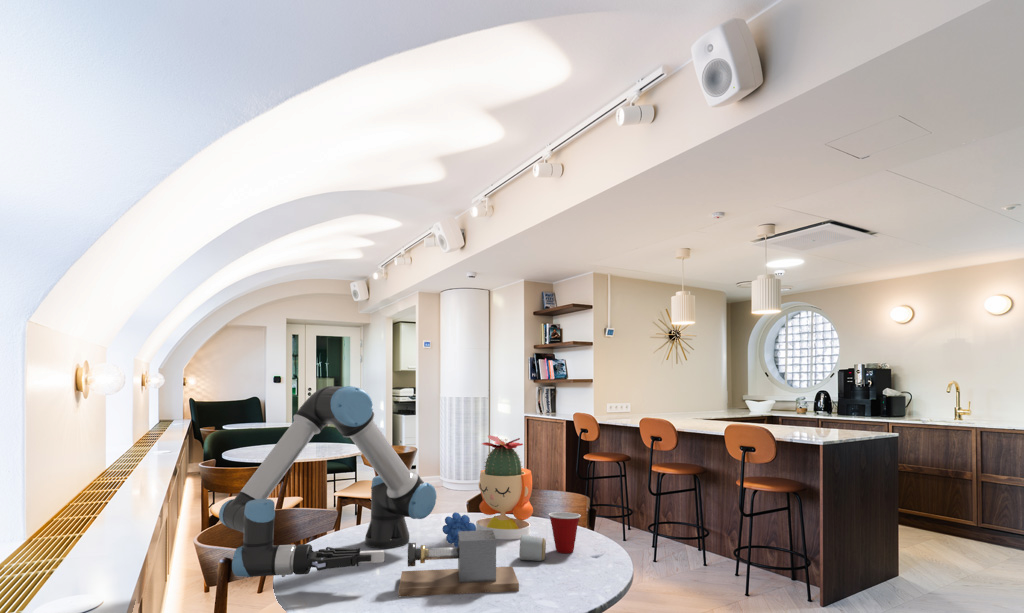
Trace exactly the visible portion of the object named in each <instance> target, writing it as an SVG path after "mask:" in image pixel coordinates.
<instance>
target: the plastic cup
mask: <svg viewBox="0 0 1024 613" xmlns="http://www.w3.org/2000/svg"><path fill="white" fill-rule="evenodd" d="M581 516H582V515H581V514H579V513H576V512H575V513H574V512H567V511H566V512H564V511H561V512H560V511H557V512H555V511H553V512H549V513H548V517H549V519H550V524H551V529H552V536H553V541H554V546H555V551H556V552H557V553H560V554H572V553H574V549H575V544H576V538H577V531H578V525H579V521H580V518H581Z"/></svg>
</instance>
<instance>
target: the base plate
mask: <svg viewBox="0 0 1024 613" xmlns="http://www.w3.org/2000/svg"><path fill="white" fill-rule="evenodd" d="M399 581H400V582H399V586H398V597H399V598H400V597H419V596H420V597H421V596H422V597H423V596H438V595H439V596H440V595H442V596H444V595H445V596H446V595H460V594H461V595H462V594H482V593H483V594H484V593H502V592H503V593H504V592H519V591H520V583H519V580H518V577H517V574H516V572H515V569H514V568H513V566H496V582H477V583H459V576H458V568H448V569H446V568H445V569H442V568H441V569H425V570H424V569H423V570H418V569H417V570H402V571H401V574H400V580H399Z"/></svg>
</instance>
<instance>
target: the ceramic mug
mask: <svg viewBox="0 0 1024 613" xmlns="http://www.w3.org/2000/svg"><path fill="white" fill-rule="evenodd" d="M546 546H547V541H546V539H545V538H544V537H541V536H536V535H535V536H534V535H530V536H528V535H522V536H521V539H520V542H519V560H520V561H535V562H541V561H544V560H545V557H546V549H547V548H546Z"/></svg>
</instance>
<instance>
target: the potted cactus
mask: <svg viewBox="0 0 1024 613" xmlns="http://www.w3.org/2000/svg"><path fill="white" fill-rule="evenodd" d="M487 438H488V439H489V440H490V441H493V442H494V443H490V442H487V441H486V442H482V443H481V445H483V446H488V447H492V448H491V450H489V451H488V453H487V457H485V461H484V464H485V465H483V468H484V469H483V470H480V474H479V475H480V476H479V481H478V489H479V491H480V495H481V497H482V501H481V502H480V503H479V506H478V507H479V511H480V512H481V513H482V514H484V515H485V516H492V515H495V516H493V517H484V518H479V519H478V520H476V523H475V526H476V531H483V530H493V532H494V535H495V538H496V540H519V539H520V540H521V536H522V535H528V536H531V523H530V522H528V521H527V520H528V519H530V518H531V517H532V515H533V513H534V508H533V505H532V504H531V502H530V498H531V495H532V491H533V475H532V471H531V469H528V468H524V465H522V463H523V461H522V460H521V457H519V456H520V454H518V450H516V449H517V447H520V446H523V445H524V443H520V442H517V441H519V440H520V439H521V438H519V437H518V438H515V439H513V440H511V441H508V439H506V438H505V439H504V440H502V439H500V438H499V437H498V436H495V435H487ZM497 513H499V514H500V515H499V514H498V515H496V514H497ZM509 514H513V517H511V516H510V517H509V516H508V515H509Z"/></svg>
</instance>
